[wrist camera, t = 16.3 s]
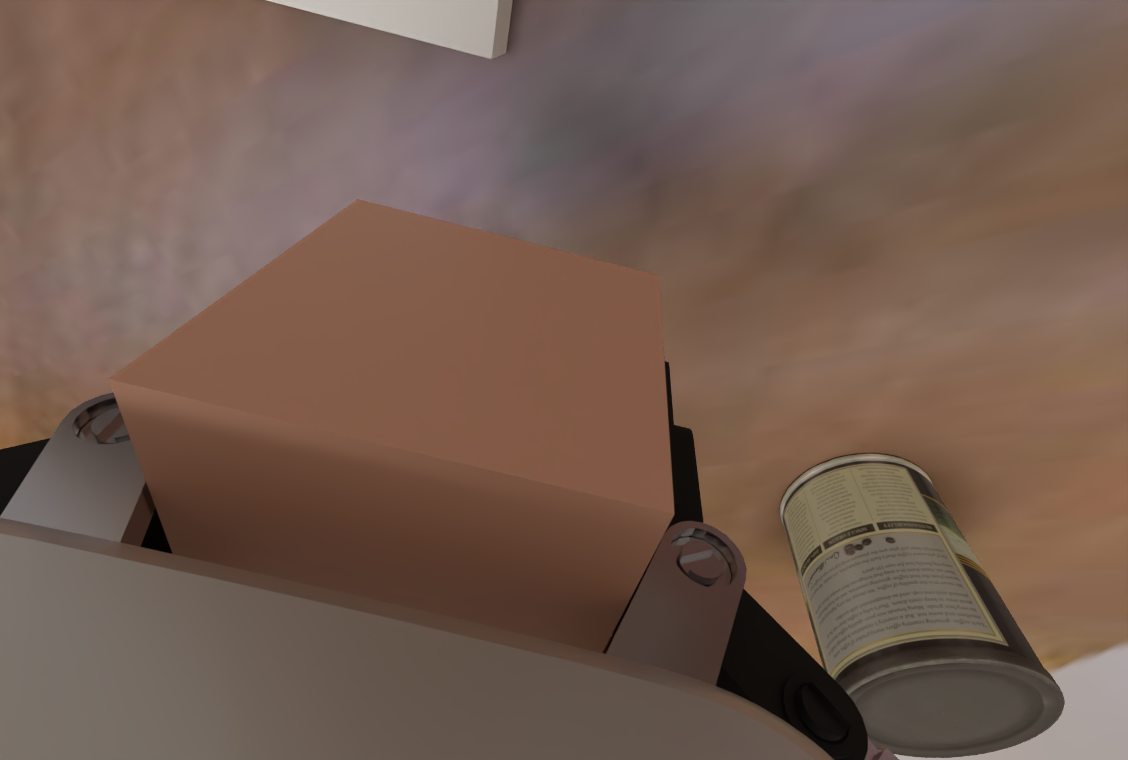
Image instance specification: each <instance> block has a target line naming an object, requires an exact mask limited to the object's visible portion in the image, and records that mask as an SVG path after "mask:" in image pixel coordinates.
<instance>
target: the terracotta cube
mask: <svg viewBox="0 0 1128 760" xmlns="http://www.w3.org/2000/svg"><path fill="white" fill-rule="evenodd" d="M109 382H110V385H111V387H112V390H113V393H114V396H115V398H116V401H117V404H118V406H119V409H120V412H121V415H122V417H123V420H124V423H125V425H126V428H127V431H128V434H129V436H130V439H131V442H132V445H133V447H134V450H135V453H136V455H137V458H138V461H139V464H140V466H141V469H142V472H143V475H144V477H145V480H146V483H147V485H148V488H149V491H150V494H151V496H152V499H153V502H154V504H155V507H156V510H157V513H158V515H159V518H160V521H161V524H162V526H163V529H164V532H165V534H166V537H167V540H168V543H169V545H170V548H171V551H172V553H173V554H175V555H179V556H184V557H188V558H193V559H197V560H202V561H206V562H211V563H215V564H220V565H224V566H229V567H233V568H238V569H242V570H247V571H251V572H255V573H260V574H264V575H269V576H273V577H277V578H282V579H286V580H291V581H295V582H299V583H304V584H308V585H313V586H317V587H322V588H326V589H330V590H335V591H339V592H344V593H348V594H352V595H357V596H361V597H365V598H370V599H374V600H378V601H383V602H387V603H392V604H396V605H400V606H405V607H409V608H413V609H418V610H422V611H427V612H431V613H435V614H439V615H444V616H448V617H452V618H457V619H461V620H465V621H469V622H474V623H478V624H482V625H487V626H491V627H495V628H499V629H504V630H508V631H512V632H517V633H521V634H525V635H529V636H534V637H538V638H542V639H547V640H551V641H555V642H559V643H564V644H568V645H572V646H576V647H580V648H584V649H588V650H592V651H596V652H600V653H602V652H603V650H604V648H605V646H606V644H607V642H608V641H609V639H610V637H611V635H612V633H613V631H614V629H615V627H616V625H617V623H618V621H619V619H620V618H621V616H622V614H623V612H624V610H625V608H626V606H627V604H628V602H629V600H630V598H631V596H632V595H633V593H634V591H635V589H636V587H637V585H638V583H639V581H640V579H641V577H642V575H643V573H644V572H645V570H646V568H647V566H648V564H649V562H650V560H651V558H652V556H653V554H654V552H655V550H656V549H657V547H658V545H659V543H660V541H661V539H662V537H663V535H664V533H665V531H666V529H667V528H668V526H669V524H670V522H671V520H672V518H673V516H674V514H675V513H674V498H673V483H672V468H671V453H670V437H669V422H668V407H667V392H666V376H665V361H664V346H663V331H662V316H661V300H660V285H659V275H655V274H651V273H647V272H643V271H640V270H636V269H632V268H628V267H624V266H620V265H616V264H612V263H608V262H604V261H600V260H596V259H592V258H588V257H584V256H580V255H576V254H572V253H568V252H564V251H560V250H556V249H552V248H548V247H545V246H541V245H537V244H533V243H529V242H525V241H521V240H517V239H513V238H509V237H505V236H501V235H497V234H493V233H489V232H485V231H481V230H477V229H473V228H469V227H465V226H461V225H457V224H453V223H450V222H446V221H442V220H438V219H434V218H430V217H426V216H422V215H418V214H414V213H410V212H406V211H402V210H398V209H394V208H390V207H386V206H382V205H378V204H374V203H370V202H366V201H362V200H358V199H357V200H356V201H355V202H353V203H352V204H350V205H349V206H348V207H346V208H345V209H344V210H342V211H341V212H339V213H338V214H337V215H335V216H334V217H332V218H331V219H330V220H328V221H327V222H326V223H324V224H323V225H321V226H320V227H319V228H317V229H316V230H314V231H313V232H312V233H310V234H309V235H308V236H306V237H305V238H303V239H302V240H301V241H299V242H298V243H296V244H295V245H294V246H292V247H291V248H290V249H288V250H287V251H285V252H284V253H283V254H281V255H280V256H278V257H277V258H276V259H274V260H273V261H272V262H270V263H269V264H267V265H266V266H265V267H263V268H262V269H260V270H259V271H258V272H256V273H255V274H254V275H252V276H251V277H249V278H248V279H247V280H245V281H244V282H242V283H241V284H240V285H238V286H237V287H236V288H234V289H233V290H231V291H230V292H229V293H227V294H226V295H224V296H223V297H222V298H220V299H219V300H218V301H216V302H215V303H213V304H212V305H211V306H209V307H208V308H206V309H205V310H204V311H202V312H201V313H200V314H198V315H197V316H195V317H194V318H193V319H191V320H190V321H188V322H187V323H186V324H184V325H183V326H182V327H180V328H179V329H177V330H176V331H175V332H173V333H172V334H170V335H169V336H168V337H166V338H165V339H164V340H162V341H161V342H159V343H158V344H157V345H155V346H154V347H152V348H151V349H150V350H148V351H147V352H146V353H144V354H143V355H141V356H140V357H139V358H137V359H136V360H134V361H133V362H132V363H130V364H129V365H128V366H126V367H125V368H123V369H122V370H121V371H119V372H118V373H116V374H115V375H114V376H112V377H111V378H110V379H109Z"/></svg>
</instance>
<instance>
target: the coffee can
mask: <svg viewBox="0 0 1128 760" xmlns="http://www.w3.org/2000/svg"><path fill="white" fill-rule="evenodd" d="M780 517H781V521H782V524H783V526H784V528H785V531H786V534H787V538H788V542H789V545H790V549H791V553H792V556H793V560H794V564H795V567H796V571H797V575H798V578H799V582H800V586H801V589H802V593H803V597H804V601H805V604H806V608H807V611H808V615H809V618H810V622H811V625H812V629H813V633H814V636H815V640H816V643H817V647H818V651H819V654H820V658H821V662H822V665H823V669H824V670H825V671H826V672H827V673H828V674H829V675H830V676H831V677H832V678H833V679H834V680H835V681H836V682H837V683H838V684H839V685H840V686H841V687H842V688H843V689H844V690H845V692H846V693H847V694H848V695H849V696H850V698H851V699H852V700H853V701H854V703H855V705H856V707H857V708H858V710H859V712H860V714H861V716H862V718H863V721H864V724H865V727H866V731H867V734H868V740H869V741H870V742H871V743H872V744H873V745H874V746H875V747H876V748H877V749H878V750H880V751H881V750H883V749H884V748H886V747H887V748H888V749H889V750H890V751H891V752H892V753H893V754H898V755H904V756H905V755H906V756H913V757H926V758H927V757H929V758H930V757H932V758H936V757H937V758H949V757H950V758H951V757H962V756H970V755H978V754H984V753H988V752H994V751H998V750H1001V749H1005V748H1008V747H1012V746H1015V745H1018V744H1020V743H1022V742H1025V741H1027V740H1029V739H1031V738H1033V737H1036V736H1037V735H1039V734H1041V733H1042V732H1044V731H1045V730H1047V729H1048V728H1050V727H1051V726H1052V725H1053V724H1054V723H1055V722H1056V721H1057V720H1058V718H1059V717H1060V715H1061V713H1062V711H1063V707H1064V697H1063V694H1062V692H1061V690H1060V688H1059V686H1058V685H1057V684H1056V682H1055V680H1054V679H1053V677H1052V676H1051V675H1050V674H1049V673H1048V671H1047V670H1046V669H1044V667H1043V666H1042V664H1041V663H1040V661H1039V659H1038V658H1037V656H1036V655H1035V653H1034V651H1033V649H1032V648H1031V646H1030V644H1029V643H1028V641H1027V640H1026V638H1025V636H1024V635H1023V633H1022V632H1021V630H1020V628H1019V627H1018V625H1017V624H1016V622H1015V620H1014V618H1013V617H1012V615H1011V614H1010V612H1009V610H1008V609H1007V607H1006V605H1005V604H1004V602H1003V600H1002V599H1001V597H1000V595H999V594H998V592H997V591H996V589H995V587H994V586H993V584H992V583H991V581H990V579H989V577H988V576H987V574H986V573H985V571H984V569H983V568H982V566H981V564H980V563H979V561H978V559H977V558H976V556H975V555H974V553H973V551H972V550H971V548H970V546H969V545H968V543H967V541H966V540H965V538H964V536H963V535H962V533H961V532H960V530H959V528H958V527H957V525H956V523H955V522H954V520H953V518H952V517H951V515H950V514H949V512H948V510H947V508H946V507H945V505H944V503H943V502H942V500H941V499H940V497H939V495H938V493H937V492H936V490H935V489H934V486H933V484H932V481H931V480H930V478H929V477H928V475H927V474H926V473H925V472H924V471H923V470H922V469H920V468H919V467H918V466H916V465H914V464H913V463H911V462H909V461H907V460H904V459H902V458H899V457H895V456H890V455H884V454H872V453H871V454H855V455H848V456H843V457H838V458H834V459H832V460H829V461H827V462H824V463H821V464H819V465H817V466H815V467H813V468H811V469H810V470H808V471H806V472H805V473H803V474H802V475H801V476H800V477H799V478H797V479H796V480H795V481H794V482H793V483H792V484H791V485H790V486H789V488H788V489H787V491H786V493H785V495H784V497H783V499H782V502H781V506H780Z"/></svg>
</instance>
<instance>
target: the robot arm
mask: <svg viewBox="0 0 1128 760" xmlns="http://www.w3.org/2000/svg"><path fill="white" fill-rule="evenodd" d="M665 376H666V392H667V407H668V422H669V437H670V453H671V468H672V483H673V498H674V513H675V514H674V516H673V518H672V520H671V522H670V524H669V526H668V528H667V529H666V531H665V533H664V535H663V537H662V539H661V541H660V543H659V545H658V547H657V549H656V550H655V552H654V554H653V556H652V558H651V560H650V562H649V564H648V566H647V568H646V570H645V572H644V573H643V575H642V577H641V579H640V581H639V583H638V585H637V587H636V589H635V591H634V593H633V595H632V596H631V598H630V600H629V602H628V604H627V606H626V608H625V610H624V612H623V614H622V616H621V618H620V619H619V621H618V623H617V625H616V627H615V629H614V631H613V634H612V636H611V638H610V640H609V642H608V644H607V646H606V648H605V651H604V653H600V652H596V651H592V650H588V649H584V648H580V647H576V646H572V645H568V644H564V643H559V642H555V641H551V640H547V639H542V638H538V637H534V636H529V635H525V634H521V633H517V632H512V631H508V630H504V629H499V628H495V627H491V626H487V625H482V624H478V623H474V622H469V621H465V620H461V619H457V618H452V617H448V616H444V615H439V614H435V613H431V612H427V611H422V610H418V609H413V608H409V607H405V606H400V605H396V604H392V603H387V602H383V601H378V600H374V599H370V598H365V597H361V596H357V595H352V594H348V593H344V592H339V591H335V590H330V589H326V588H322V587H317V586H313V585H308V584H304V583H299V582H295V581H291V580H286V579H282V578H277V577H273V576H269V575H264V574H260V573H255V572H251V571H247V570H242V569H238V568H233V567H229V566H224V565H220V564H215V563H211V562H206V561H202V560H197V559H193V558H188V557H184V556H179V555H175V554H173V553H172V551H171V548H170V545H169V543H168V540H167V537H166V534H165V532H164V529H163V526H162V524H161V521H160V518H159V515H158V513H157V510H156V507H155V504H154V502H153V499H152V496H151V494H150V491H149V488H148V485H147V483H146V480H145V477H144V475H143V472H142V469H141V466H140V464H139V461H138V458H137V455H136V453H135V450H134V447H133V445H132V442H131V439H130V436H129V434H128V431H127V428H126V425H125V423H124V420H123V417H122V415H121V412H120V409H119V406H118V404H117V401H116V398H115V396H114V393H109V394H105V395H100V396H98V397H95V398H93V399H90V400H88V401H85V402H83V403H82V404H80V405H79V406H77V407H76V408H74V409H72V410H71V411H70V412H69V413H68V414H67V415H66V416H65V418H64V419H63V420H62V421H61V423H60V424H59V426H58V427H57V429H56V430H55V432H54V434H53V435H52V437H51V438H49V439H45V440H40V441H36V442H32V443H27V444H23V445H19V446H14V447H10V448H5V449H1V450H0V760H899V759H898V758H897V757H896V756H895V755H894V754H893V753H892V752H891V751H890V750H889V749H888V748H887V747H886V748H884V749H883V750H881V751H879V750H878V749H877V748H876V747H875V746H874V745H873V744H872V743H871V742H870V741H869V740H868V734H867V731H866V727H865V724H864V721H863V718H862V716H861V714H860V712H859V710H858V708H857V707H856V705H855V703H854V701H853V700H852V699H851V698H850V696H849V695H848V694H847V693H846V692H845V690H844V689H843V688H842V687H841V686H840V685H839V684H838V683H837V682H836V681H835V680H834V679H833V678H832V677H831V676H830V675H829V674H828V673H827V672H826V671H825V670H824V669H823V668H822V667H821V666H820V665H819V664H818V663H817V662H816V661H815V660H814V659H813V658H812V657H811V656H810V655H809V654H808V653H807V652H806V651H805V650H804V649H803V648H802V647H801V646H800V645H799V644H798V643H797V642H796V641H795V640H794V639H793V638H792V637H791V636H790V635H789V634H788V633H787V632H786V631H785V630H784V629H783V628H782V627H781V626H780V625H779V624H778V623H777V622H776V621H775V620H774V619H773V618H772V617H771V616H770V615H769V614H768V613H767V612H766V611H765V610H764V609H763V608H762V607H761V606H760V605H759V604H758V603H757V602H756V601H755V600H754V599H753V598H752V597H751V596H750V595H749V594H748V593H747V592H746V591H745V590H744V589H743V588H744V584H745V580H746V565H745V562H744V558H743V556H742V554H741V553H740V551H739V549H738V548H737V546H736V545H735V544H734V543H733V542H732V541H731V540H730V539H729V538H728V537H727V536H726V535H725V534H723V533H722V532H721V531H719V530H718V529H716V528H714V527H712V526H710V525H707V524H705V523H703V515H702V507H701V498H700V490H699V481H698V473H697V465H696V456H695V448H694V439H693V434H692V431H691V430H690V429H689V428H685V427H680V426H676V425H674V422H673V408H672V395H671V382H670V369H669V363H668V362H666V361H665Z"/></svg>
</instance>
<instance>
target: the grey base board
mask: <svg viewBox="0 0 1128 760" xmlns="http://www.w3.org/2000/svg"><path fill="white" fill-rule="evenodd" d="M267 1H271V2H275V3H279V4H283V5H287V6H290V7H294V8H298V9H302V10H306V11H309V12H313V13H317V14H321V15H325V16H329V17H332V18H336V19H340V20H344V21H348V22H352V23H355V24H359V25H363V26H367V27H371V28H374V29H378V30H382V31H386V32H390V33H394V34H397V35H401V36H405V37H409V38H413V39H417V40H420V41H424V42H428V43H432V44H436V45H439V46H443V47H447V48H451V49H455V50H459V51H462V52H466V53H470V54H474V55H478V56H482V57H485V58H489V59H493V58H496V57H498V56H501V55H503V54H505V53H506V49H507V41H508V34H509V26H510V18H511V10H512V3H513V0H267Z"/></svg>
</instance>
